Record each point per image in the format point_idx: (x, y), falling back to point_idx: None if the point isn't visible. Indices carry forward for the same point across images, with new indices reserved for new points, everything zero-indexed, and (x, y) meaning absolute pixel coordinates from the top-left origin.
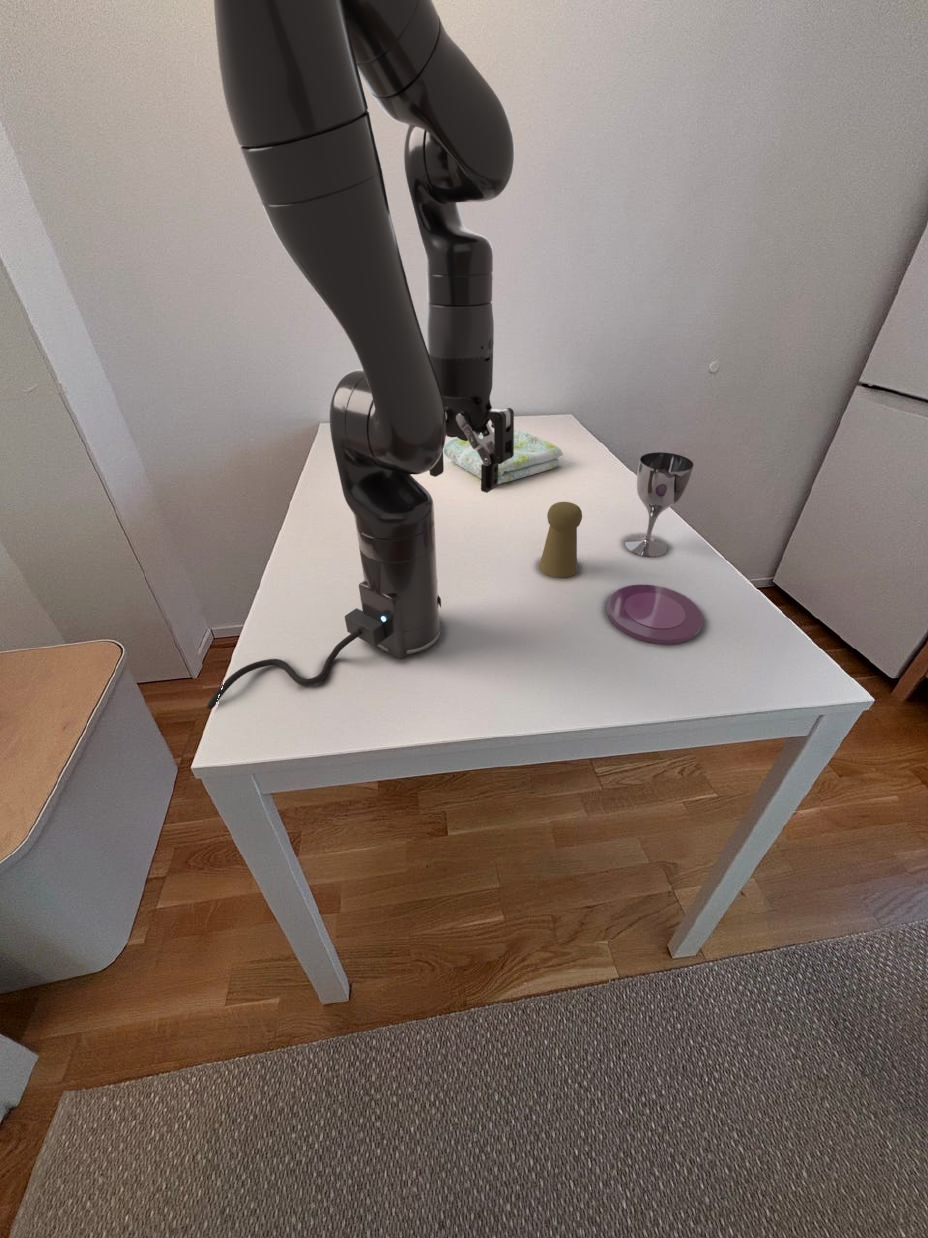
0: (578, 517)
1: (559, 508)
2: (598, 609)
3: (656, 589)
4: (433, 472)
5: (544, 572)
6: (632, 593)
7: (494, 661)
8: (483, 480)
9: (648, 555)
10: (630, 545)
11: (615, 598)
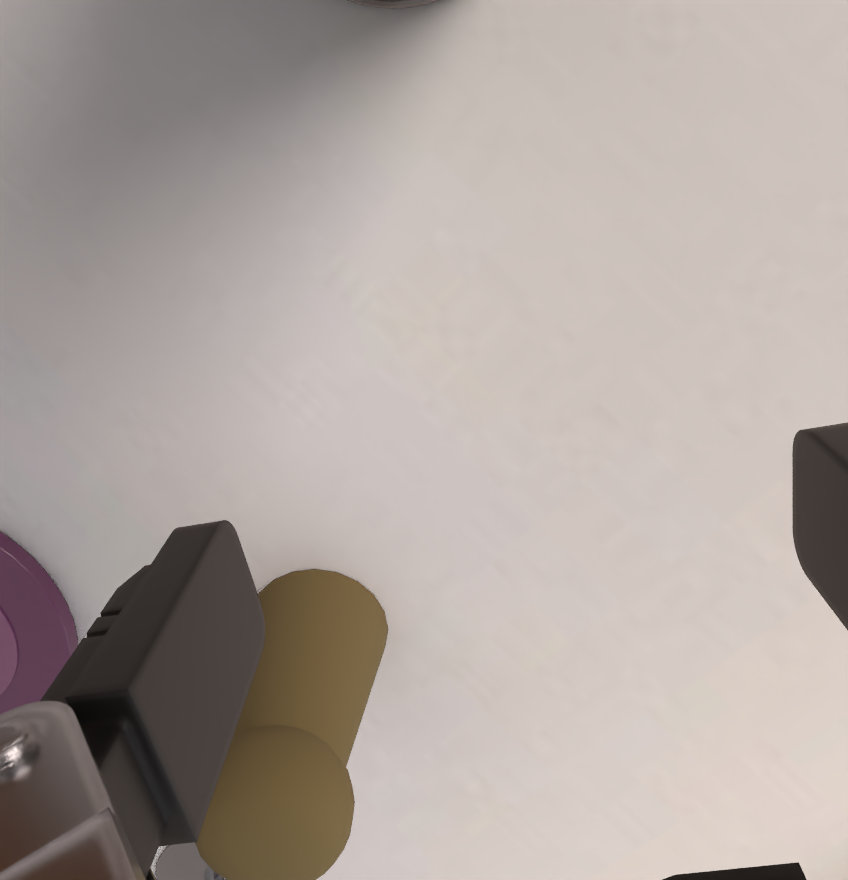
0: None
1: (264, 824)
2: (47, 536)
3: None
4: (818, 441)
5: (323, 573)
6: (27, 662)
7: (4, 18)
8: (158, 578)
9: (176, 846)
10: None
11: (36, 608)
